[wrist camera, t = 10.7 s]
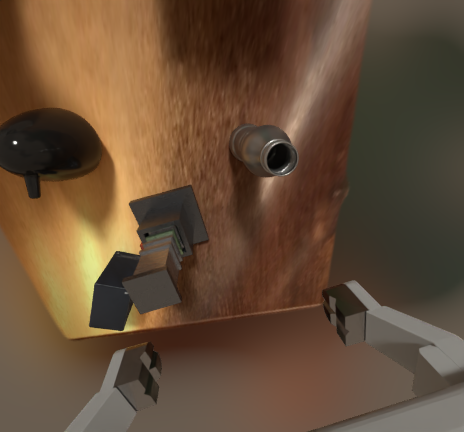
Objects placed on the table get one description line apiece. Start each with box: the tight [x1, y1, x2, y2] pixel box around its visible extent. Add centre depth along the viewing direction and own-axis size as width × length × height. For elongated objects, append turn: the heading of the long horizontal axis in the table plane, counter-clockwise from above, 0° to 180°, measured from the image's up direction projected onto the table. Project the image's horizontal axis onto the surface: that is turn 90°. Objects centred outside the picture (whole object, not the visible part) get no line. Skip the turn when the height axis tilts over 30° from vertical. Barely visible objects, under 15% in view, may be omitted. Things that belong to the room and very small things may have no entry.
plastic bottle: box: [229, 124, 299, 178], centre depth 32 cm, size 6×7×20 cm
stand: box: [129, 185, 209, 257], centre depth 41 cm, size 12×12×10 cm
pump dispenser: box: [0, 108, 102, 199], centre depth 30 cm, size 10×10×15 cm
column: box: [122, 225, 184, 314], centre depth 33 cm, size 5×5×15 cm
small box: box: [89, 251, 141, 331], centre depth 44 cm, size 11×6×10 cm, turn 161°
